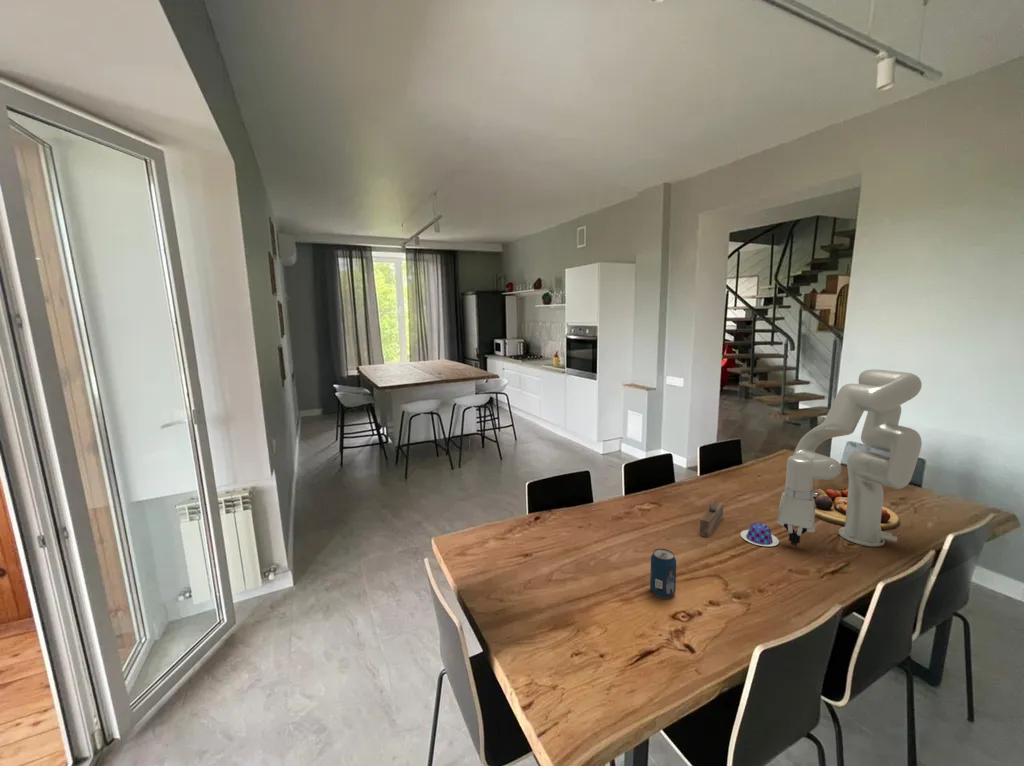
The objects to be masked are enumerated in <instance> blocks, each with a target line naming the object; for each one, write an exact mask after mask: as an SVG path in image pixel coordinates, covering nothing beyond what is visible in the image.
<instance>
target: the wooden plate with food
mask: <svg viewBox="0 0 1024 766" xmlns="http://www.w3.org/2000/svg"><path fill="white" fill-rule="evenodd" d="M813 492H815V493H817V497H813V498H814V501H815V518H819V519H821V520H823V521H826V522H829V523H833V524H836V525H841V526H843V527H845V519H846V508H847V498H848V488H845V487H843V488H840V489H839V490H837V489H835V488H834V489H832V488H831V487H829V488H828V489H825V490H822V489H821V488H818V489H815V490H813ZM899 524H900V518H899V516H898V515H897V513H895V511H893V510H892V509H889V508H887V507H885V506H883V505H882V514H881V524H880V527H881V530H889V529H892V528H895V527H897V526H898V525H899Z"/></svg>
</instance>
